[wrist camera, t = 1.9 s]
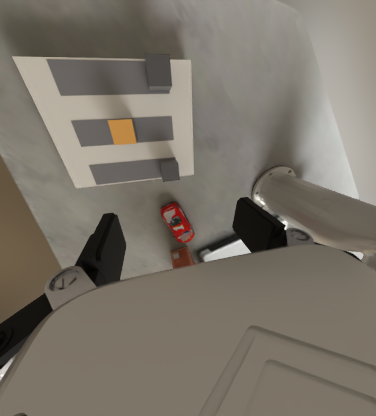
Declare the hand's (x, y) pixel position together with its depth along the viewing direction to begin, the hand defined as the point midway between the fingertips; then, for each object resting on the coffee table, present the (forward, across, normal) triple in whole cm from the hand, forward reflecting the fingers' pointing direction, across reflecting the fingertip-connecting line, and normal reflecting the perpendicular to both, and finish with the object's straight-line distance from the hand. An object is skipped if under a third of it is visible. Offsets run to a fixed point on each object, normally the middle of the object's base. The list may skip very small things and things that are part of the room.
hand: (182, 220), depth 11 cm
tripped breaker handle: (+19, +5, -6) cm, 20 cm away
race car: (+22, -3, +16) cm, 28 cm away
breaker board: (+22, +5, -6) cm, 23 cm away
